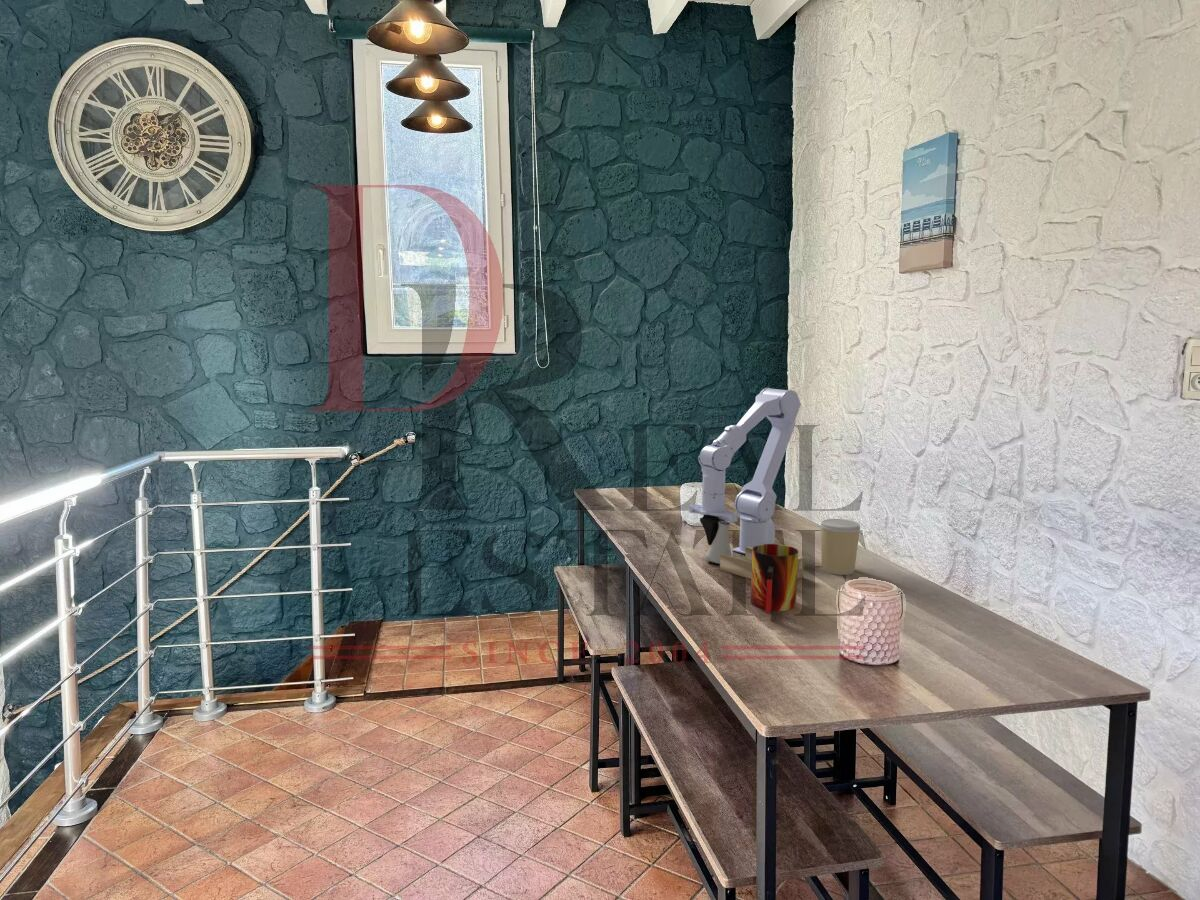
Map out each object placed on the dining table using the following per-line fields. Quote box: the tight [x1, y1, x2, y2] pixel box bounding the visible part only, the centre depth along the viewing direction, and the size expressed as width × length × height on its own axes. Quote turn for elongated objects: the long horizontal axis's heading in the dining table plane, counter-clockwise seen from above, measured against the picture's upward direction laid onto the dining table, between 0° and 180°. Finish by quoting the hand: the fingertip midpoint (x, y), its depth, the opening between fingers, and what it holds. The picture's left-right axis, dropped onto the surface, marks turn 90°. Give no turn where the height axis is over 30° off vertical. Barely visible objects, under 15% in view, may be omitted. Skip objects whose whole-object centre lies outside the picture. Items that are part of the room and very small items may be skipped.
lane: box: [719, 547, 805, 581], centre depth 195 cm, size 11×17×5 cm, turn 41°
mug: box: [750, 543, 799, 614], centre depth 172 cm, size 10×14×12 cm
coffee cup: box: [820, 518, 861, 576], centre depth 198 cm, size 9×9×12 cm
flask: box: [704, 520, 733, 565], centre depth 204 cm, size 7×7×10 cm
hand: (711, 544), depth 207 cm, fingers closed
